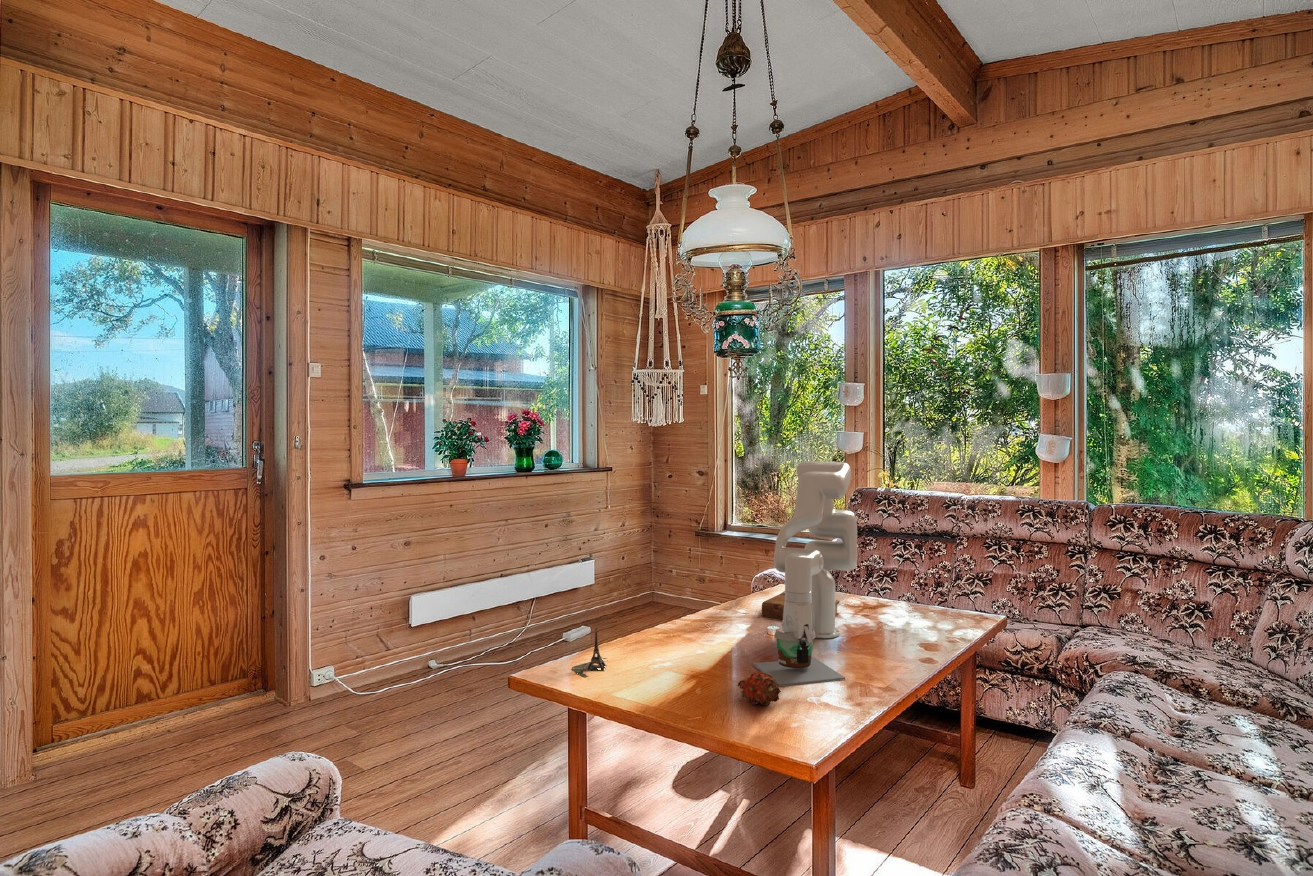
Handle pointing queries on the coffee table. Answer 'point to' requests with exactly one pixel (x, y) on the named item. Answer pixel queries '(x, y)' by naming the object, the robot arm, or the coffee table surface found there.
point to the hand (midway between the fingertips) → (797, 659)
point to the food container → (791, 650)
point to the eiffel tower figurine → (589, 665)
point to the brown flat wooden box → (779, 607)
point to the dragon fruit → (760, 688)
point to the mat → (799, 673)
